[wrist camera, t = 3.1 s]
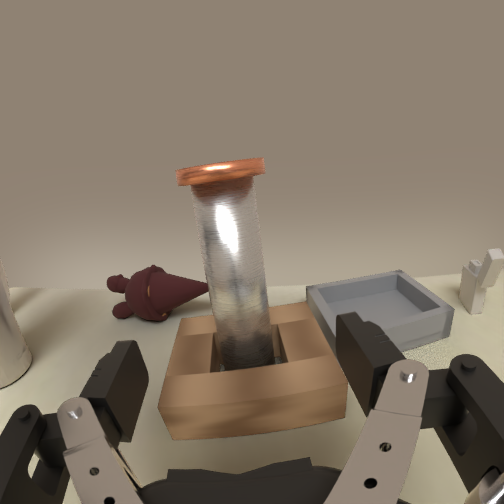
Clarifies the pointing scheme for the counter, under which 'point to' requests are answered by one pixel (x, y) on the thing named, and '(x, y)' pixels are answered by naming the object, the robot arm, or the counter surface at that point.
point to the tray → (383, 308)
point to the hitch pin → (233, 258)
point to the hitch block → (252, 381)
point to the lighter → (479, 280)
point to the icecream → (153, 293)
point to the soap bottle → (4, 279)
